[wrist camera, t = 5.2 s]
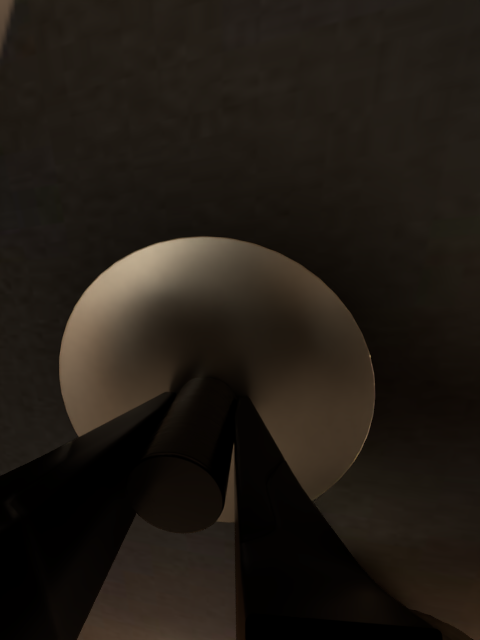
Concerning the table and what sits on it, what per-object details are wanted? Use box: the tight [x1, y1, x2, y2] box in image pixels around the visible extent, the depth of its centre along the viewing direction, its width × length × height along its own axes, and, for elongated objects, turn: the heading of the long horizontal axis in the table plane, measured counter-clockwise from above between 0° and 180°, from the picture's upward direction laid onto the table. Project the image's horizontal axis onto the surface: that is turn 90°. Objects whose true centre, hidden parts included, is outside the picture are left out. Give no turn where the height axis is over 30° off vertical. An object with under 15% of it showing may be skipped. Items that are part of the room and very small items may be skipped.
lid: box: [59, 236, 375, 533], centre depth 7 cm, size 12×12×5 cm
